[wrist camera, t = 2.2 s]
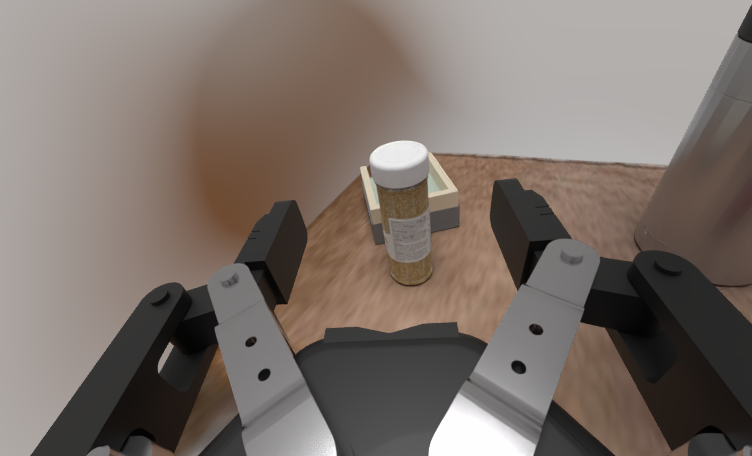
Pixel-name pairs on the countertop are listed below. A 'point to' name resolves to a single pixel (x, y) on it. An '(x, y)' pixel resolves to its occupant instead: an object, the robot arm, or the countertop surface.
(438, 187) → the shallow square tray
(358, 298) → the countertop surface
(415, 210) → the sprinkles bottle
